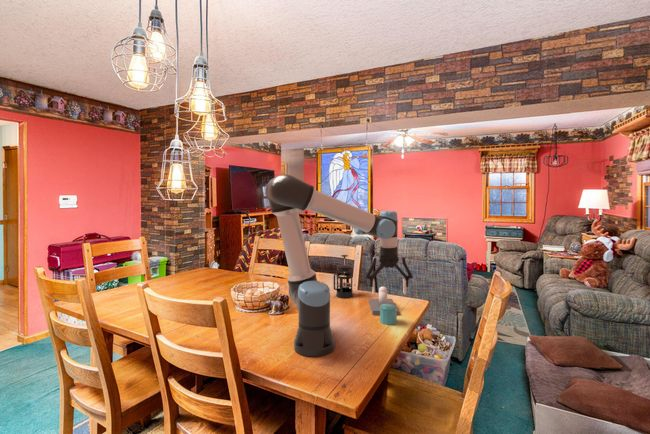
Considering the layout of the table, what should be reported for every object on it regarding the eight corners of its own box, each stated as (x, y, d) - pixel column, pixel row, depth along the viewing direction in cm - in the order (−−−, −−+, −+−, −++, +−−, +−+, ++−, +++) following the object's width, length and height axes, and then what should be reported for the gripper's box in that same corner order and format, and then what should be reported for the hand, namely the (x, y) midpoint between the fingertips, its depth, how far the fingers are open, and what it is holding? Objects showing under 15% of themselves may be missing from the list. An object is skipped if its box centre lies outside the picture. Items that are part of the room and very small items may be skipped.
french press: (356, 294, 184) (356, 254, 183) (350, 299, 176) (350, 257, 174) (337, 292, 189) (337, 252, 188) (330, 296, 181) (330, 255, 180)
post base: (398, 315, 153) (398, 292, 152) (372, 315, 153) (372, 291, 152) (392, 302, 171) (392, 281, 170) (368, 302, 171) (369, 281, 170)
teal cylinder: (397, 324, 141) (397, 309, 141) (381, 324, 142) (381, 308, 141) (394, 318, 148) (394, 303, 148) (379, 318, 149) (379, 303, 148)
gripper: (415, 244, 146) (415, 291, 147) (359, 245, 147) (360, 291, 148) (419, 247, 138) (419, 296, 140) (360, 248, 139) (361, 296, 141)
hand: (389, 294), depth 144 cm, fingers open, 13 cm apart
